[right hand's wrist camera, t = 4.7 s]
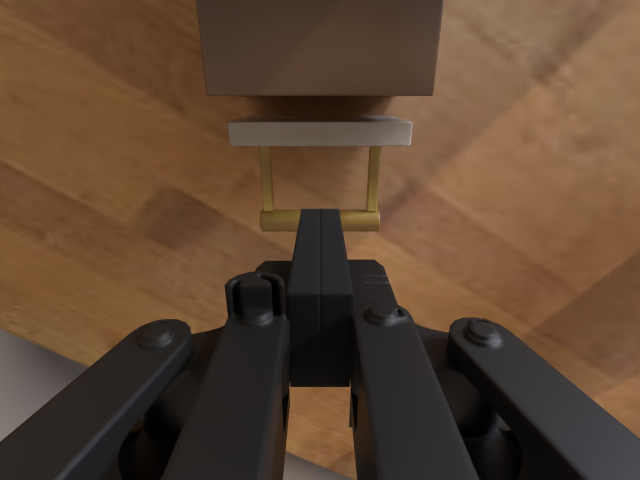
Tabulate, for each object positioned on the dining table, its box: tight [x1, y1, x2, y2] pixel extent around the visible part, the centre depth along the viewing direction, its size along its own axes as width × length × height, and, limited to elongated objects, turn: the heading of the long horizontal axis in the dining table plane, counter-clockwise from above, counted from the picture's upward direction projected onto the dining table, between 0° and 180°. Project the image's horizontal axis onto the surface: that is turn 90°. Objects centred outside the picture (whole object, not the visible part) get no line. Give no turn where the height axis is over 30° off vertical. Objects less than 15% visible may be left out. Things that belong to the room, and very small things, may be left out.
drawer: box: [227, 115, 412, 231], centre depth 19 cm, size 25×9×7 cm, turn 0°
